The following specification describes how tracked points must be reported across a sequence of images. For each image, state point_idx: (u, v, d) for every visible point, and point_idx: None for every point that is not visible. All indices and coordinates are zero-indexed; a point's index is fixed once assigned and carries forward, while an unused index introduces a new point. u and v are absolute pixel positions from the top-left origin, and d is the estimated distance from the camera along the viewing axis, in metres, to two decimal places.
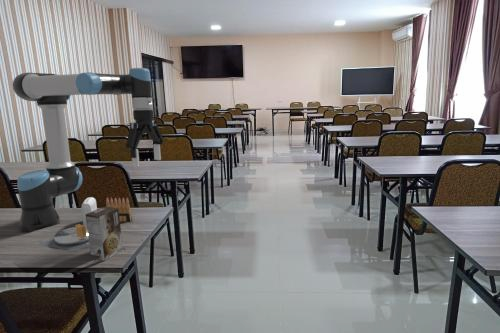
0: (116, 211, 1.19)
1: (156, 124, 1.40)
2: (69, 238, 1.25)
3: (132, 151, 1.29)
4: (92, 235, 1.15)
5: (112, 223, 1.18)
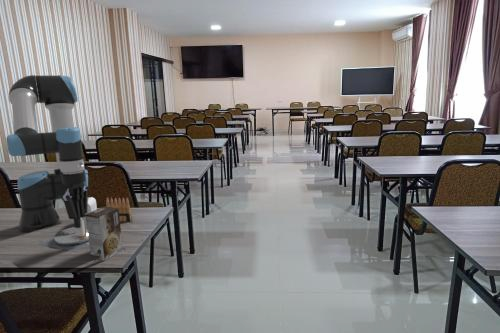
0: (116, 211, 1.19)
1: (87, 190, 1.26)
2: (69, 238, 1.25)
3: (76, 221, 1.22)
4: (92, 235, 1.15)
5: (112, 223, 1.18)
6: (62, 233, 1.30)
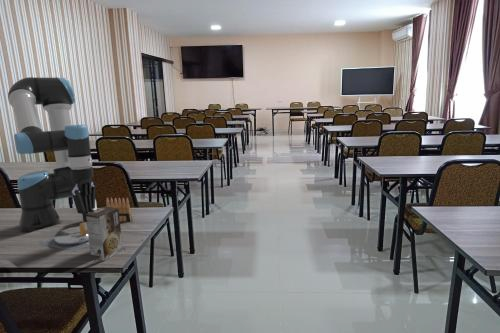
0: (116, 211, 1.19)
1: (94, 186, 1.30)
2: (78, 236, 1.27)
3: (84, 215, 1.26)
4: (92, 235, 1.15)
5: (112, 223, 1.18)
6: (61, 236, 1.27)
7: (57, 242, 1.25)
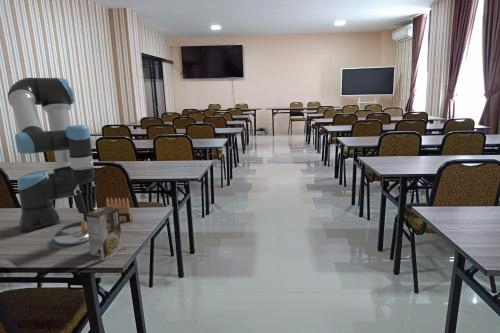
0: (116, 211, 1.19)
1: (95, 186, 1.32)
2: (84, 235, 1.28)
3: (85, 215, 1.27)
4: (92, 235, 1.15)
5: (112, 223, 1.18)
6: (63, 237, 1.26)
7: (62, 243, 1.24)
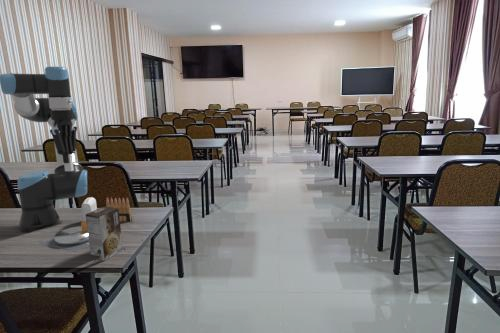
0: (116, 211, 1.19)
1: (75, 130, 1.35)
2: (84, 235, 1.28)
3: (65, 156, 1.30)
4: (92, 235, 1.15)
5: (112, 223, 1.18)
6: (63, 237, 1.26)
7: (62, 243, 1.24)
